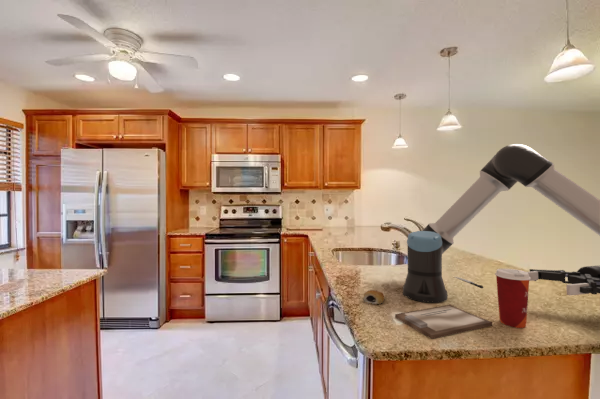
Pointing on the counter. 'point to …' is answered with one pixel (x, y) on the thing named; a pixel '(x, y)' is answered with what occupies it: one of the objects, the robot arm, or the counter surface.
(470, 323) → the brown framed picture
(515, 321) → the coffee cup
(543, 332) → the counter surface
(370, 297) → the pastry
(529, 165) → the robot arm
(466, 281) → the chef's knife
